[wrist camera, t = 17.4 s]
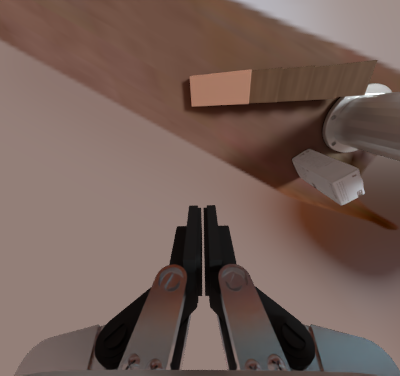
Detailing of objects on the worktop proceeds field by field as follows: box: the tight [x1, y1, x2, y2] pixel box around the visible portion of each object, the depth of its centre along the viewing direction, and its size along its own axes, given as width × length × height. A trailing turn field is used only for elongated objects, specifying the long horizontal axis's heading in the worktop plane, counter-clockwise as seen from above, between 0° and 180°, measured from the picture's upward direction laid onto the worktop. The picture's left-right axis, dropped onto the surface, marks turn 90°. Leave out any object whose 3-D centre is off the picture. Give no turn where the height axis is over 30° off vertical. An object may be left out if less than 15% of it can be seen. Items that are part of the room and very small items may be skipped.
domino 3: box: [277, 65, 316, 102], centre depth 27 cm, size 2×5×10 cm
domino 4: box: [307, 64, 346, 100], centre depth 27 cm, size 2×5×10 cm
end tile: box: [190, 70, 252, 107], centre depth 27 cm, size 2×5×10 cm
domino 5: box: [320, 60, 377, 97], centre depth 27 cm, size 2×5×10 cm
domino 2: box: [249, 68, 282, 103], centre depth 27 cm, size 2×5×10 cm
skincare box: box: [292, 149, 365, 205], centre depth 32 cm, size 6×4×12 cm
